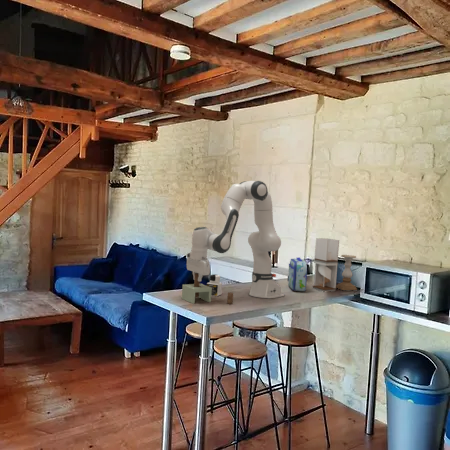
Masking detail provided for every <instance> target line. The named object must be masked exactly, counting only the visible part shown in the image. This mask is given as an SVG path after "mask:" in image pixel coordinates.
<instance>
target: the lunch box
mask: <svg viewBox="0 0 450 450" xmlns="http://www.w3.org/2000/svg"><path fill="white" fill-rule="evenodd" d="M289 260H290V261H289V263H288V275H287V282H288V283H287V284H288V287H289V288H290V289H291V290H292V291H293V292H295V291H296V292H306V290H307V279H308V265H307V262H306V261H305V260H304V259H302V258H301V257H296V258H290V259H289Z"/></svg>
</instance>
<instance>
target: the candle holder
mask: <svg viewBox="0 0 450 450" xmlns="http://www.w3.org/2000/svg"><path fill="white" fill-rule="evenodd" d="M340 256H341V258H344V260H345V263H344V264H343V265H344V267H345V268H344V270H343V272H342V273H341V276H342V282H338V283H336V289H337V288H338V289H337V290H339V289H341V290H340V291H342V290H357V291H358V288H357V287H356V285H354V284H353V283H352V279H351V278H353V272H352V270H351V267H353V266H352V265H353V264H352V260H353V259H356V258H357V256H356V255H352V254H341V255H340Z"/></svg>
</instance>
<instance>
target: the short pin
mask: <svg viewBox="0 0 450 450" xmlns="http://www.w3.org/2000/svg"><path fill="white" fill-rule="evenodd" d="M233 301H234V292H227V299H226V302H227V303H226V304H227V305H233V303H234V302H233Z"/></svg>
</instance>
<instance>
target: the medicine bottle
mask: <svg viewBox="0 0 450 450" xmlns="http://www.w3.org/2000/svg"><path fill="white" fill-rule="evenodd" d="M206 286H209V287H211V288H212V294H211V297H218V296H221V295H222V290H223V289H222V288H223V283H222V282H221V275H219V274H213V273H212V274H209V282H207V283H206Z"/></svg>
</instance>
